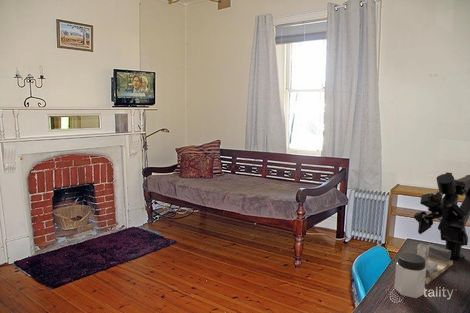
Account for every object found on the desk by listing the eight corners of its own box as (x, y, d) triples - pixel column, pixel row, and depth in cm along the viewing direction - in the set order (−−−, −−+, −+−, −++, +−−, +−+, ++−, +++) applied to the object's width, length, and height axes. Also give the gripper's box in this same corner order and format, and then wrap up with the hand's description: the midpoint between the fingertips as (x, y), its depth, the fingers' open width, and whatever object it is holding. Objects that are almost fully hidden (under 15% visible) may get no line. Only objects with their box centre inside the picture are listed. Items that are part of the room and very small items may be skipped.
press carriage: (415, 261, 138) (416, 239, 137) (437, 269, 132) (439, 245, 131) (405, 267, 133) (407, 244, 132) (428, 275, 127) (430, 251, 126)
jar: (413, 301, 114) (416, 265, 112) (389, 289, 121) (392, 256, 119) (428, 293, 119) (431, 259, 117) (405, 282, 126) (407, 250, 124)
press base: (425, 256, 148) (426, 243, 147) (452, 264, 140) (453, 251, 139) (398, 273, 132) (400, 259, 131) (427, 284, 125) (428, 269, 124)
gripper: (412, 194, 146) (395, 219, 139) (451, 181, 129) (433, 209, 122) (432, 213, 145) (415, 241, 138) (473, 203, 128) (456, 233, 121)
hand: (428, 231), depth 130 cm, fingers open, 9 cm apart
